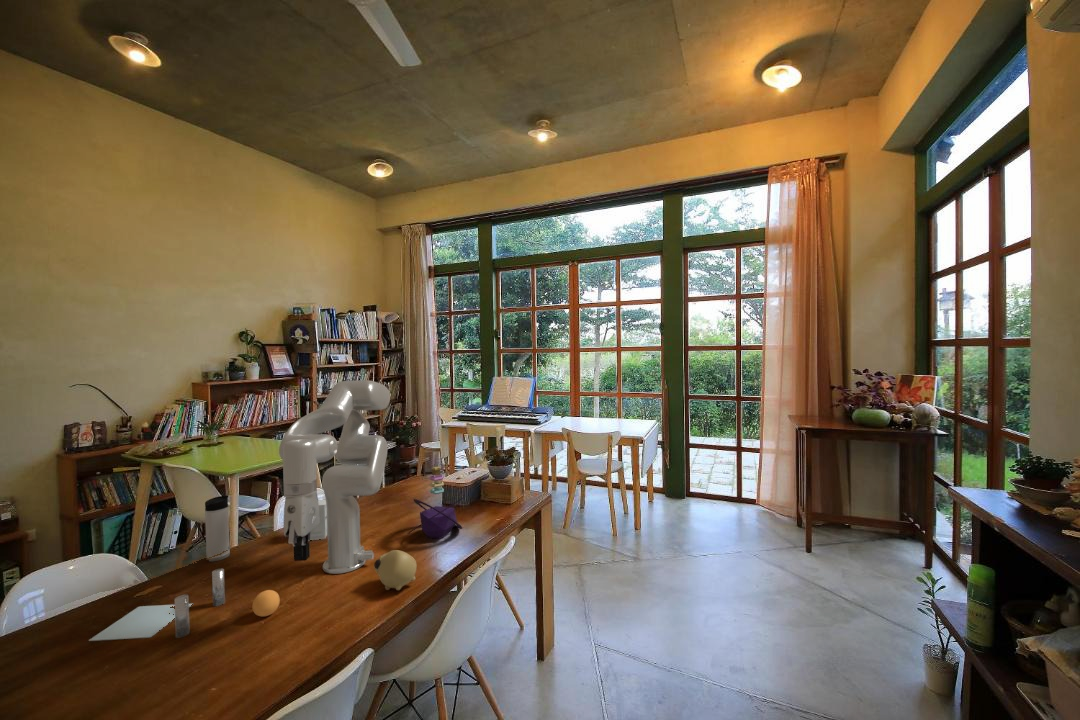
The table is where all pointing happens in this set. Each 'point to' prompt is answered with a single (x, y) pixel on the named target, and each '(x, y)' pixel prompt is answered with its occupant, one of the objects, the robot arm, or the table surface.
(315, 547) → the table surface
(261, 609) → the ball
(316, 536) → the supplement box
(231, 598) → the table surface
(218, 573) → the post right
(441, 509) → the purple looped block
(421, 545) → the table surface
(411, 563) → the toy pig
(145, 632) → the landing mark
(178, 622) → the post left
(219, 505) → the travel mug
